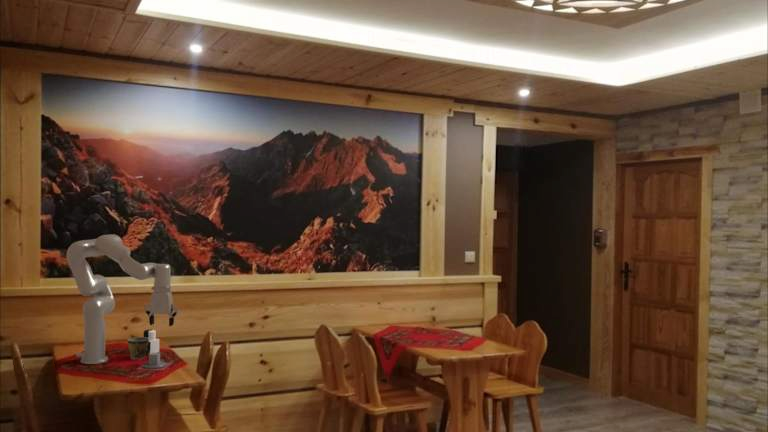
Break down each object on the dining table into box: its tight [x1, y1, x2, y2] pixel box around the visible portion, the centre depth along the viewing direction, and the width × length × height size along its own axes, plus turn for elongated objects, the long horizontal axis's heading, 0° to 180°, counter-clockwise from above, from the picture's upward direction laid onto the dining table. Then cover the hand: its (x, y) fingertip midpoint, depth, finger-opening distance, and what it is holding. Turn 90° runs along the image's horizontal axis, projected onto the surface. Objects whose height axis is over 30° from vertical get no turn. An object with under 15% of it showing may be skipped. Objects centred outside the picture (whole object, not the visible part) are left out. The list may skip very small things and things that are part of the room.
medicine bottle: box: [143, 329, 160, 356], centre depth 353 cm, size 7×7×12 cm
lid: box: [141, 352, 168, 369], centre depth 326 cm, size 11×11×6 cm
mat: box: [136, 362, 173, 371], centre depth 326 cm, size 13×13×1 cm
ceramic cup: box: [127, 336, 149, 361], centre depth 339 cm, size 13×10×10 cm
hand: (161, 325), depth 327 cm, fingers open, 9 cm apart
